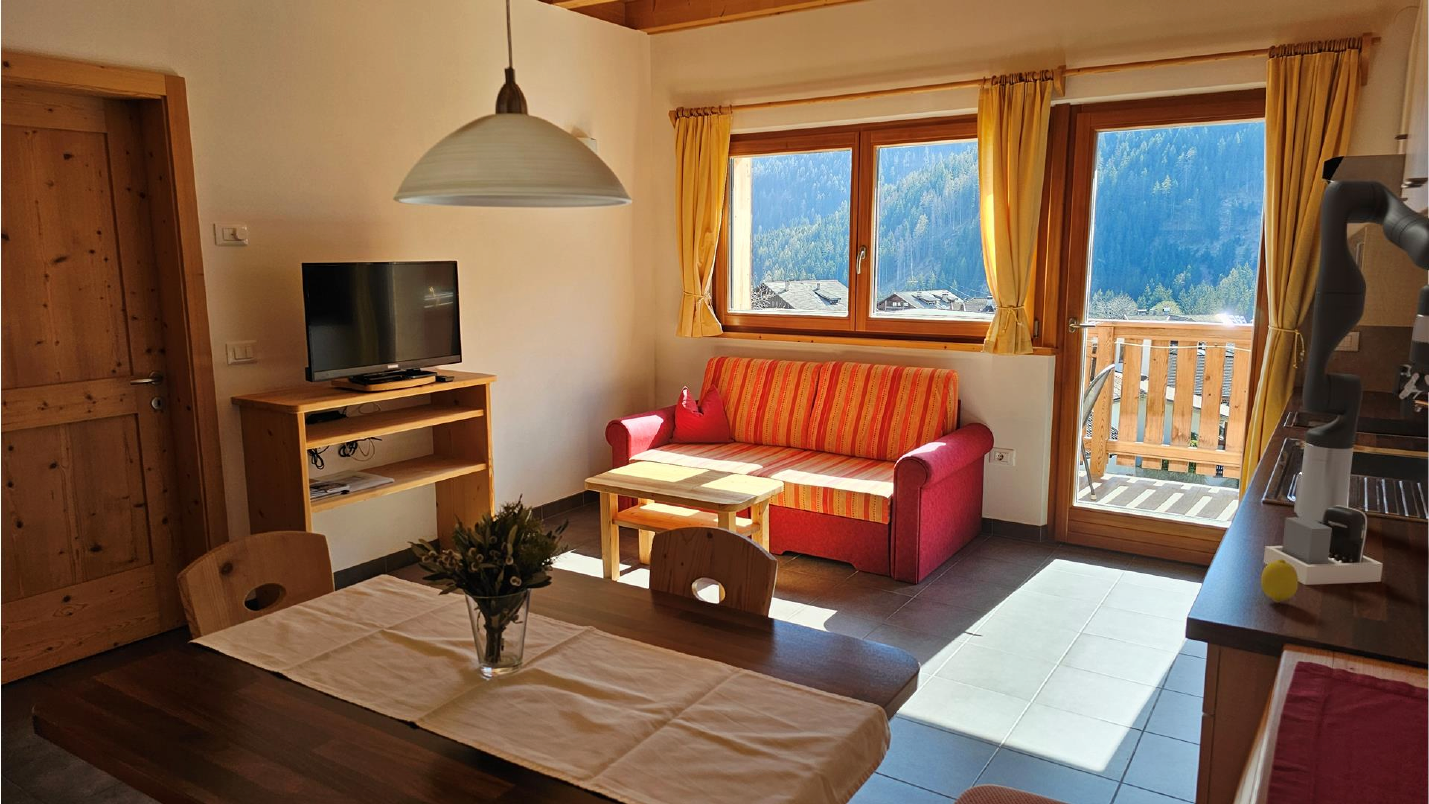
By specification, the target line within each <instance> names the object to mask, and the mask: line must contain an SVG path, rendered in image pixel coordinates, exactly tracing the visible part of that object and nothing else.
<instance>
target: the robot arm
mask: <svg viewBox="0 0 1429 804" xmlns="http://www.w3.org/2000/svg"><path fill="white" fill-rule="evenodd" d="M1366 223H1371V224H1374V225H1375V224H1376V225H1380V226H1382V232H1383V236H1384V237H1385V238H1386V239H1387V241H1389V242H1390V243H1391V244H1392V245H1394V246H1397V247H1398V248H1399V249H1401V250H1403V251H1405V252H1406V253H1407V255H1408V257H1409V258H1410V259H1411V261H1412V262H1413V264H1414V265H1415V266H1416V267H1418V268H1420V269H1422V270H1426V271H1429V217H1427V216H1425V215H1424V214H1422V213H1420V212H1418V211H1415V210H1414V209H1412V208H1411V207H1409V206H1408V205H1406V203H1405V202H1404V201H1403V200H1401V199H1400V198H1399V197H1398V196H1397V195H1396V194H1395V193H1393V192H1392V191H1391V189H1389V187H1387V186H1386V185H1384V184H1383V183H1382V182H1380V181H1377V180H1372V179H1337V180H1333V181H1331V182H1330V183H1329V184H1328V185H1327V187H1326V188H1325V190H1324V191H1323V196H1322V199H1321V207H1320V247H1319V248H1320V249H1319V250H1320V253H1319V263H1318V274H1317V281H1316V287H1315V296H1314V304H1313V305H1314V306H1313V316H1312V330H1311V342H1310V347H1309V349H1310V350H1309V354H1308V359H1307V366H1306V370H1305V375H1304V376H1305V378H1304V381H1303V389H1302V397H1301V398H1302V399H1301V401H1302V406H1303V409H1304V411H1305V412H1306V413H1308V414H1315V415H1329V416H1337V417H1336V419H1334V420H1333V421H1331V422H1329V423H1326V424H1324V425H1320V426H1316V427H1313V428H1309V429H1308V430H1307V431H1306V433H1305V439H1304V447H1303V448H1304V449H1303V457H1302V465H1301V472H1299V473H1297V474H1298V475H1297V481H1296V483H1297V484H1296V492H1295V500H1294V507H1293V509H1294V510H1293V512H1294V513H1295V514H1296V516H1297V517H1306V518H1308V519H1311V520H1313V521H1316V522H1318V523H1320V524H1322V522H1323V516H1324V512H1325V511H1326V509H1327V508H1329V507H1334V506H1337V505H1340V506H1345V507H1347V502H1348V495H1349V487H1350V478H1351V470H1352V464H1353V463H1352V462H1353V454H1354V446H1355V438H1356V435H1357V429H1358V422H1359V416H1360V410H1361V407H1362V401H1363V395H1364V393H1363V392H1364V384H1363V381H1362V379H1361V377H1360V376H1359V375H1357V374H1347V373H1329V372H1328V373H1327V372H1326V368H1327V365H1328V362H1329V360H1330V359H1331V357H1332V354H1333V353H1334V352H1335V350H1336V349H1337V348H1338V346H1339V345H1340V344H1341V342H1342V341H1344V339H1345V338H1346V337H1347V336H1348V335H1349V334H1350V333H1351V332H1352V330H1353V329H1354V328H1355V327H1356V326H1357V325H1358V324H1359V322H1360V321H1361V319H1362V317H1363V315H1364V312H1365V303H1366V296H1367V294H1366V293H1367V283H1366V280H1365V277H1364V274H1363V273H1362V270H1361V269H1360V267H1359V265H1358V264H1357V262H1356V261H1355V259H1354V256H1353V254H1352V253H1351V250H1350V248H1349V247H1350V246H1349V244H1348V224H1366ZM1397 247H1396V248H1397ZM1417 303H1418V304H1417V311H1416V318H1415V321H1414V324H1413V328H1412V335H1411V344H1410V350H1409V358H1408V361H1409V362H1410V363H1411V364H1398V365H1397V366H1396V370H1395V375H1394V379H1393V381H1394V382H1393V386H1392V394H1393V395H1396V396H1398V397H1399V399H1400V400H1401V401H1400V407H1399V414H1400V417H1399V418H1401V419H1404V420H1412V419H1413V418H1414V416H1415V415H1414V413H1415V407H1416V400H1415V398H1416V397H1417V396H1418V395H1420V393H1422V392H1426V393H1429V284H1425V285H1424V286H1422V288H1421V289H1420V292H1419V298H1418V302H1417Z"/></svg>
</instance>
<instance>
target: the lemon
mask: <svg viewBox="0 0 1429 804" xmlns="http://www.w3.org/2000/svg"><path fill="white" fill-rule="evenodd" d="M1260 579H1261V581H1260V584H1261V588H1262V591H1263V593H1265V595H1266V596H1268V597H1269V598H1270V599H1272V600H1273V602H1274V603H1277V604H1279V603H1281V602H1282V601H1287V600H1289V599H1291V598H1292V597H1293V596H1294V595H1295V593H1296V592H1297V590H1298V586H1299V581H1298V576H1297V573H1296V570H1295V569H1294V567H1293V566H1292V565H1291V564H1289V563H1287V562H1285V560H1283V559H1279V560H1277V561H1273V562H1271V563H1269V564H1268V565H1266V566H1265V567H1264V569H1263V570H1262V574H1261V578H1260Z"/></svg>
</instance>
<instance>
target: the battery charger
mask: <svg viewBox="0 0 1429 804" xmlns="http://www.w3.org/2000/svg"><path fill="white" fill-rule="evenodd" d="M1368 517H1369V516H1368V515H1367V513H1365V512H1364V511H1362V510H1360V509H1356V508H1354V507H1353V508H1352V507H1348V506H1346V507H1345V506H1340V505H1337V506H1334V507H1329V508H1327V509H1326V511H1325V512H1324V516H1323V522H1322V523H1321V524H1323V525H1325V526H1328V527H1330V528H1332V532H1331V540H1330V548H1329V558H1331V559H1334V560H1336V561H1338V562H1340V563H1362V559H1363V555H1364V552H1365V546H1366V542H1367V541H1366V540H1367V536H1368V535H1367V534H1368V526H1369V518H1368Z"/></svg>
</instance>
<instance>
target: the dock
mask: <svg viewBox="0 0 1429 804" xmlns="http://www.w3.org/2000/svg"><path fill="white" fill-rule="evenodd" d="M1283 529H1284V531H1283V539H1282V545H1274V546H1273V545H1270V546H1269V545H1267V546H1264V554H1263V555H1264V556H1263V564H1264V563H1265V564H1264V565H1266V564H1267V565H1268V564H1269V563H1271V562H1273V561H1277V560H1279V559H1283V560H1285V562H1287V563H1289V564H1291V565H1292V566H1293V567H1294V569H1295V570H1296V573H1297V576H1298V583H1301V584H1303V585H1305V586H1306V585H1308V586H1309V585H1311V586H1312V585H1330V584H1353V583H1354V584H1355V583H1377V582H1381V579H1382V572H1383V566H1384V565H1383V564H1384V563H1382V562H1380V561H1377V560H1375V559H1372V558H1371V557H1368V556H1365V555H1364V554H1363V559H1362V563H1340V562H1338V561H1336V560H1334V559H1331V558H1329V548H1330V540H1331V532H1332V528H1330V527H1328V526H1325V525H1323V524H1322V523H1321V522H1316V521H1313V520H1311V519H1308V518H1306V517H1299V516H1297V517H1295V516H1293V517H1285V522H1284V528H1283ZM1267 565H1266V566H1267Z"/></svg>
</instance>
